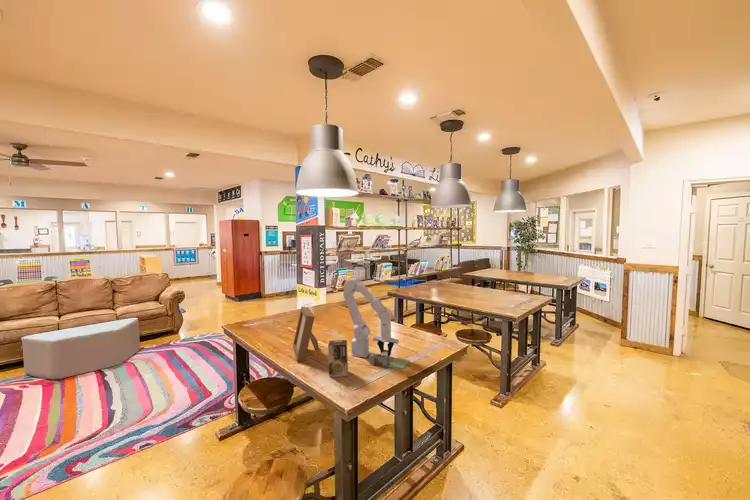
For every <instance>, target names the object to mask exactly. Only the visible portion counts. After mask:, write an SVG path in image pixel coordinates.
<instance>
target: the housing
mask: <svg viewBox="0 0 750 500" xmlns="http://www.w3.org/2000/svg"><path fill="white" fill-rule="evenodd" d="M380 354H381V353H372V352H371V353H370V354H369V355H368V356H369V365H373V366H375V365H376V364H377V359H379V358H380V359H382V362H381V363H382V365H381V366H382V367H383V368H385V367H386V368H388V367H389V365H390V357H389V356H386V355H380Z"/></svg>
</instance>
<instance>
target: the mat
mask: <svg viewBox="0 0 750 500" xmlns="http://www.w3.org/2000/svg"><path fill="white" fill-rule="evenodd" d="M409 362H410V359H405V358H399V357H395V358H394V359H393V360H392V361H391V363H389V366H388V367H390V368H396V369H401V370H404V369H405V368H406V366H407V365H408V364H409Z"/></svg>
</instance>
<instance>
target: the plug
mask: <svg viewBox="0 0 750 500" xmlns="http://www.w3.org/2000/svg"><path fill="white" fill-rule="evenodd" d="M379 354H380V355H386V356H388V349H384V350H383V351H382V353H381V352H380V353H379ZM389 358H391V355H390V356H389ZM378 362H379V363H382V359H380V358H378Z"/></svg>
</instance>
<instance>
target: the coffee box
mask: <svg viewBox="0 0 750 500" xmlns="http://www.w3.org/2000/svg"><path fill="white" fill-rule="evenodd" d="M327 349H328V352H327V353H328V373H329V374H328V376H329V378H335V377H336V378H337V377H340V378H341V377H348V375H349V363H348V361H349V360H348V359H349V357H348V340H347V339H338V340H329V341H328V345H327Z"/></svg>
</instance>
